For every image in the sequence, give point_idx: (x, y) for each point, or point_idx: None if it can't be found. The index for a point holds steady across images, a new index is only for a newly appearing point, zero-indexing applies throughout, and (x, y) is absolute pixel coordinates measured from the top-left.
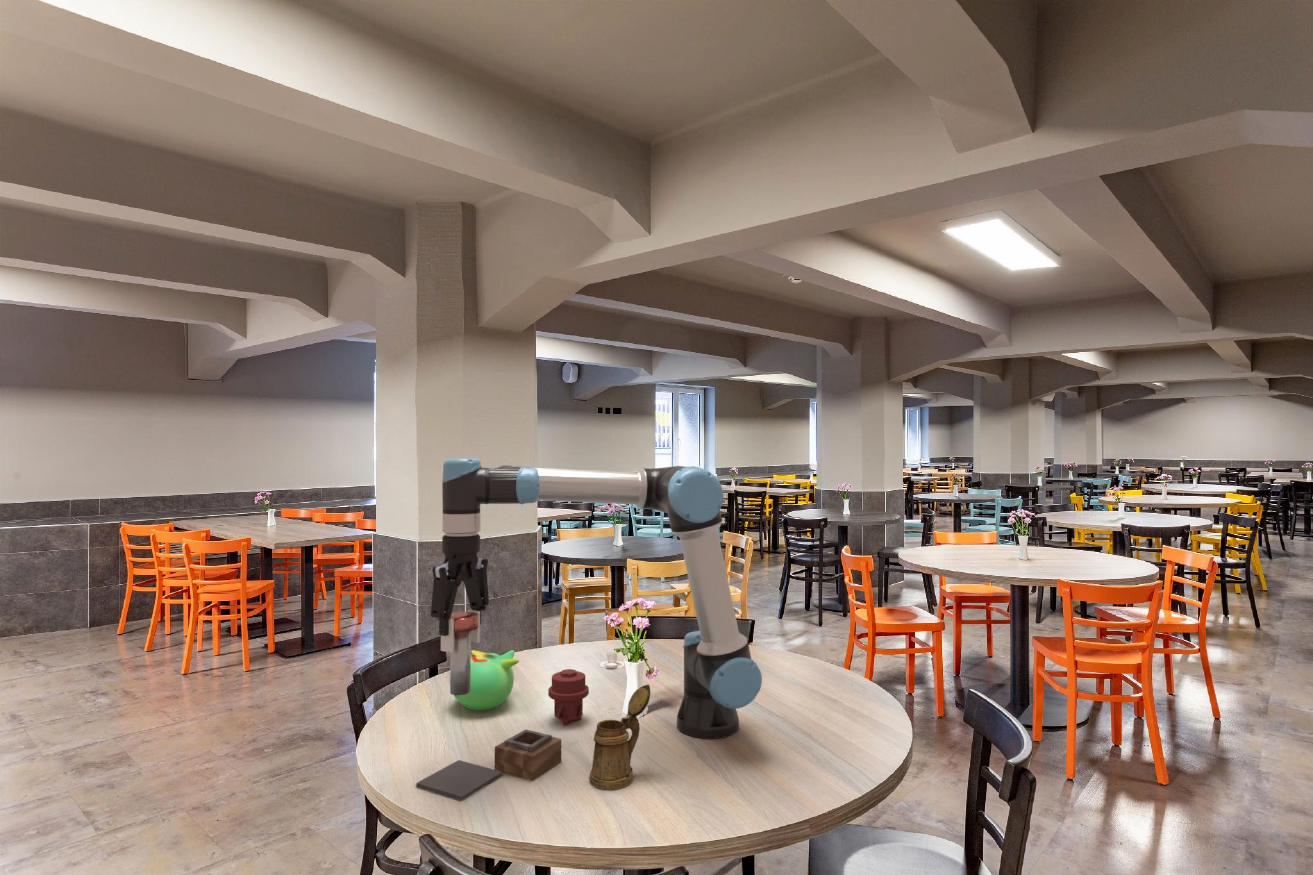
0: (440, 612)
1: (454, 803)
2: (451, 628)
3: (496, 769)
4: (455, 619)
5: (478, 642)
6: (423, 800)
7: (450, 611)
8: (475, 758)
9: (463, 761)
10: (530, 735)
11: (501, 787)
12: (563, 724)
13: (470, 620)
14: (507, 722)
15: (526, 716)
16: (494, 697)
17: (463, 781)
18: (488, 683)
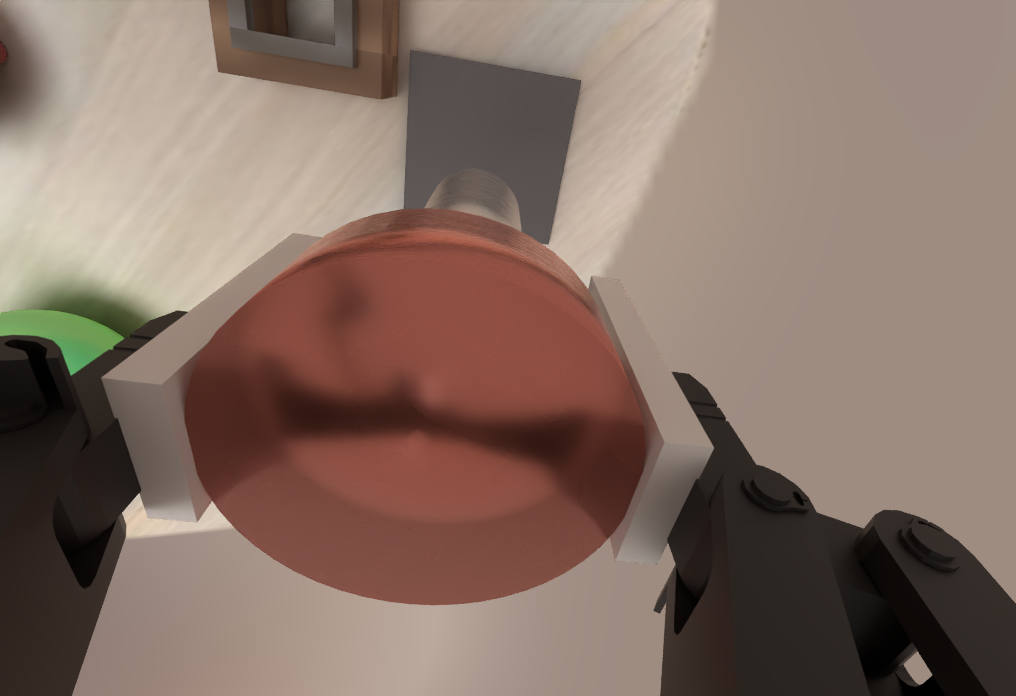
0: (1003, 595)
1: (596, 92)
2: (666, 378)
3: (395, 87)
4: (626, 427)
5: (308, 237)
6: (600, 182)
7: (758, 549)
8: (358, 197)
9: (404, 205)
10: (249, 8)
11: (475, 7)
12: (2, 50)
13: (506, 270)
14: (125, 247)
15: (51, 218)
16: (84, 325)
17: (503, 132)
18: (67, 361)
